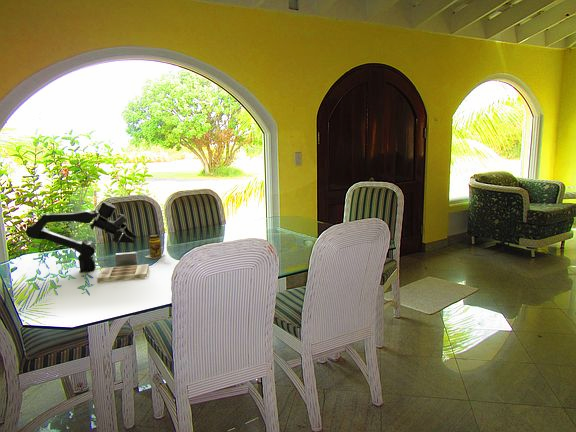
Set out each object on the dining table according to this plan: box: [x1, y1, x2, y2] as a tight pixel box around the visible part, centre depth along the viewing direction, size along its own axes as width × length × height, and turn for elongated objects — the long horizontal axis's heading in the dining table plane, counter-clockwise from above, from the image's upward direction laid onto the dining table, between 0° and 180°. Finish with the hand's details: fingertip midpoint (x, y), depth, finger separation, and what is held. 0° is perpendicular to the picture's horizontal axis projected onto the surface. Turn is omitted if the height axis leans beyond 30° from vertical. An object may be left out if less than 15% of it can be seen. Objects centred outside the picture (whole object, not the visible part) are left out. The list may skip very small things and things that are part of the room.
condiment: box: [144, 233, 165, 260], centre depth 251 cm, size 7×8×12 cm
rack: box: [96, 263, 150, 283], centre depth 223 cm, size 22×15×2 cm
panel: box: [115, 251, 139, 267], centre depth 236 cm, size 10×2×7 cm, turn 103°
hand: (135, 239), depth 234 cm, fingers open, 9 cm apart
